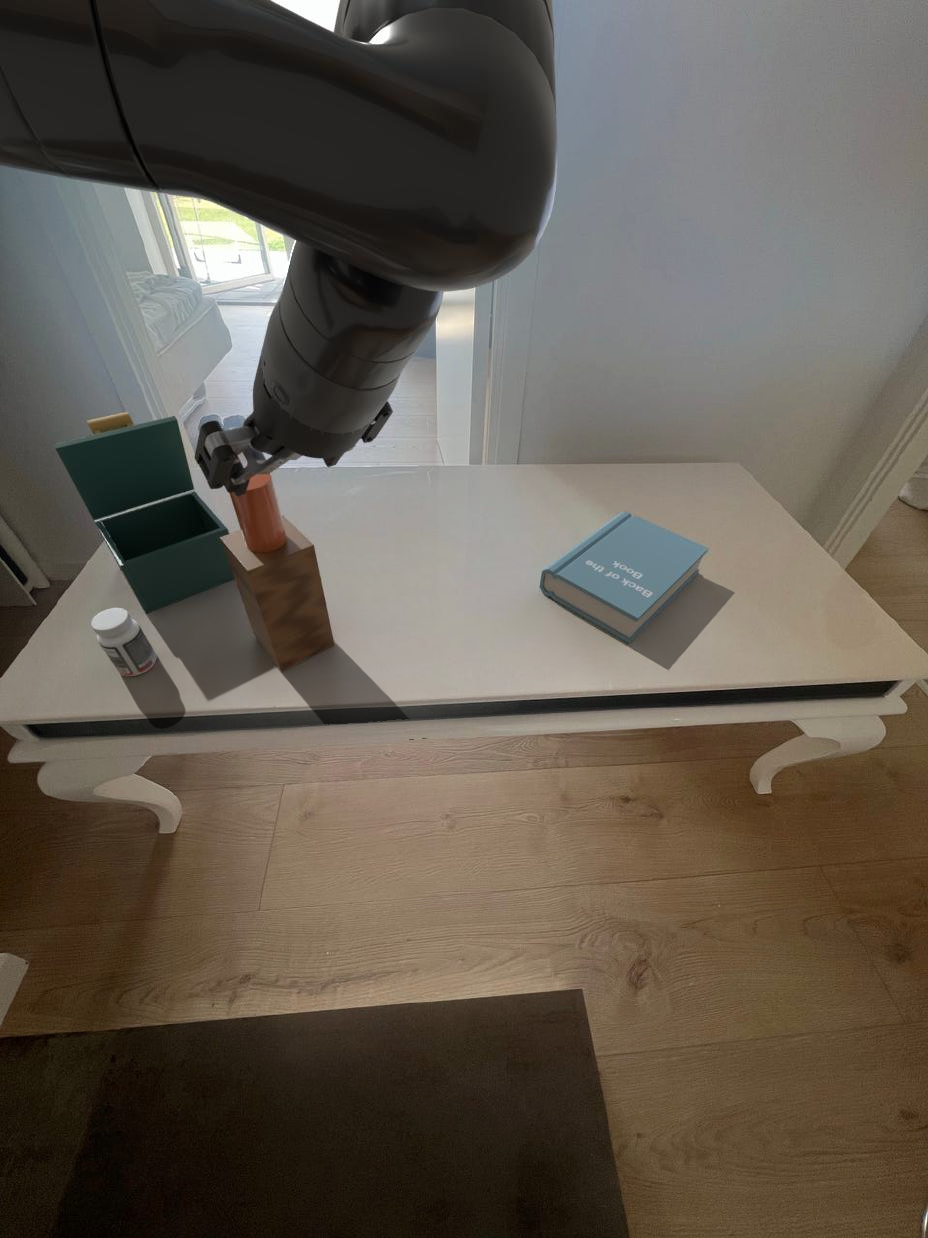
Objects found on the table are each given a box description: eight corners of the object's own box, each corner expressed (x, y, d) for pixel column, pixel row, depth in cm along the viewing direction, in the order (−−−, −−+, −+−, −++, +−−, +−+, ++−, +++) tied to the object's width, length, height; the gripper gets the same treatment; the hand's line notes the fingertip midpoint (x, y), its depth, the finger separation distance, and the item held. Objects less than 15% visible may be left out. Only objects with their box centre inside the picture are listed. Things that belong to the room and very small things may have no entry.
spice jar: (255, 557, 59) (236, 494, 53) (239, 538, 61) (219, 476, 55) (293, 543, 61) (279, 481, 55) (276, 525, 63) (260, 464, 58)
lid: (177, 419, 71) (160, 393, 72) (55, 448, 64) (38, 419, 65) (194, 489, 83) (179, 466, 85) (93, 520, 76) (79, 494, 78)
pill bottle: (156, 646, 71) (130, 600, 65) (158, 670, 68) (132, 624, 62) (117, 656, 70) (87, 611, 64) (118, 682, 67) (87, 636, 61)
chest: (243, 575, 83) (227, 528, 76) (145, 614, 76) (120, 566, 70) (211, 535, 90) (194, 490, 84) (119, 567, 83) (93, 520, 77)
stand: (280, 672, 69) (247, 571, 57) (255, 637, 73) (219, 537, 61) (334, 644, 72) (314, 544, 61) (307, 613, 77) (283, 514, 65)
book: (628, 643, 74) (638, 618, 71) (538, 591, 82) (542, 566, 78) (698, 572, 87) (709, 548, 83) (614, 532, 94) (620, 508, 91)
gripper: (397, 296, 35) (334, 411, 49) (176, 331, 28) (177, 452, 42) (445, 403, 35) (370, 485, 50) (242, 461, 29) (221, 537, 43)
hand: (281, 470), depth 46 cm, fingers open, 8 cm apart
